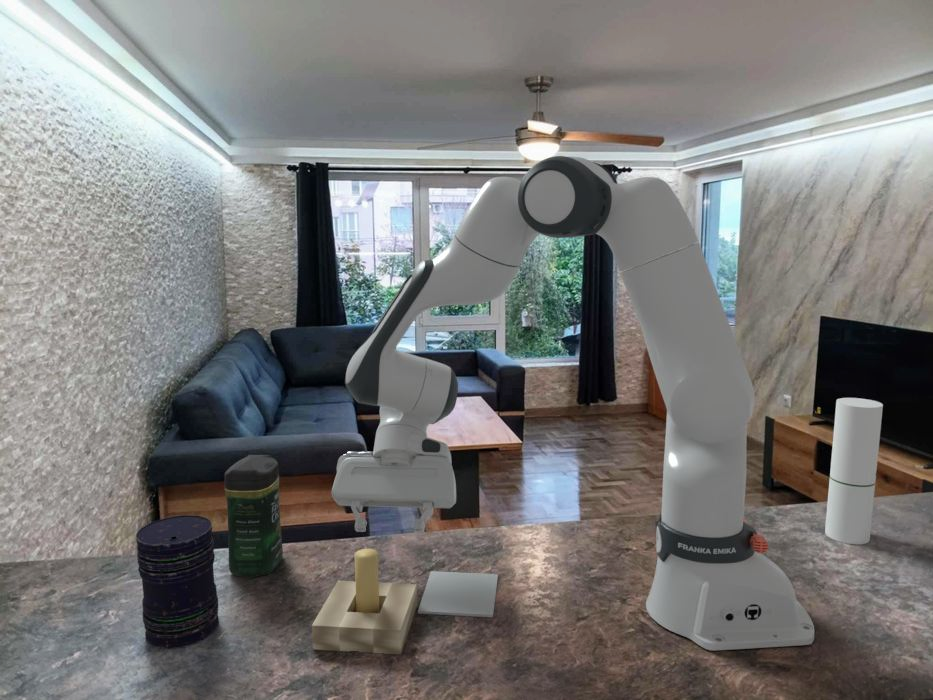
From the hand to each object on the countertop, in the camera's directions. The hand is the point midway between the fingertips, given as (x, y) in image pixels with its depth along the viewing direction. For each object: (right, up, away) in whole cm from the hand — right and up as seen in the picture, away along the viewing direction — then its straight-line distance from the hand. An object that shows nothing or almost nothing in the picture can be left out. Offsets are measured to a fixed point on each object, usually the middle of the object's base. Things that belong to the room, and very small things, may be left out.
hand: (389, 531), depth 108 cm
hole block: (-2, -11, -11) cm, 15 cm away
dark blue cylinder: (-28, -11, -11) cm, 32 cm away
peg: (-2, -11, -11) cm, 15 cm away
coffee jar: (-23, -8, +8) cm, 25 cm away
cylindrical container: (+82, -6, +17) cm, 84 cm away
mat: (+11, -9, -2) cm, 15 cm away
